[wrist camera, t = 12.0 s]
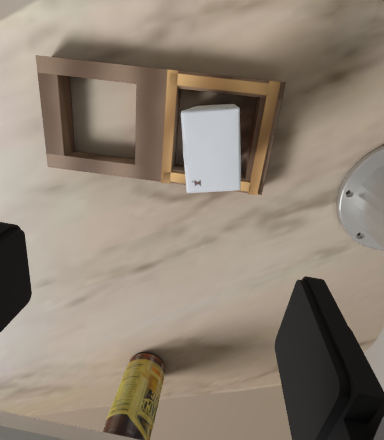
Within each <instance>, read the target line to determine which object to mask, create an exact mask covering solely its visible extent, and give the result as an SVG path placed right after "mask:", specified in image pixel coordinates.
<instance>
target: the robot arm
mask: <svg viewBox="0 0 384 440" xmlns="http://www.w3.org/2000/svg"><path fill="white" fill-rule="evenodd" d="M348 190H349V191H348ZM347 191H348V192H347ZM346 192H347V193H346ZM337 213H338V217H339V221H340V223H341V224H342V226H343V228H344V229H345V231H346V232H347V233H348V234H349V235H350V236H351V237H352V238H353V239H354V240H355V241H356V242H358V243H360V244H362V245H364V246H366V247H369V248H372V249H376V250H384V146H381V147H379V148H377V149H375V150H374V151H372V152H370V153H369V154H367V155H366V156H364V157H363V158H362V159H361V160H360V161H359V162H357V163H356V164H355V166H354V167H353V168H352V169H351V170H350V171H349V172H348V174H347V176H346V177H345V179H344V181H343V182H342V185H341V187H340V190H339V193H338V198H337ZM31 294H32V292H31V283H30V275H29V267H28V258H27V250H26V242H25V234H24V232H23V231H22V230H21V229H20V227H19V226H18V225H14V224H8V223H3V222H0V332H1V331H2V330H3V329H4V328H5V327H6V326H7V325H8V324H9V323H10V322H11V321H12V319H13V318H14V317H15V316H16V315H17V314H18V313H19V312H20V311H21V310H22V309H23V308H24V307H25V306H26V305H27V303H28V302H29V300H30V298H31ZM275 352H276V357H277V363H278V368H279V373H280V378H281V384H282V389H283V394H284V399H285V404H286V410H287V414H288V420H289V425H290V431H291V436H292V440H384V392H383V389H382V387H381V385H380V384H379V382H378V380H377V378H376V376H375V374H374V372H373V370H372V369H371V366H370V364H369V363H368V361H367V359H366V357H365V355H364V353H363V351H362V349H361V347H360V345H359V344H358V342H357V340H356V338H355V336H354V334H353V332H352V331H351V329H350V328H349V327H348V325H347V323H346V321H345V319H344V317H343V315H342V314H341V312H340V310H339V308H338V306H337V304H336V302H335V300H334V298H333V296H332V294H331V292H330V291H329V289H328V287H327V285H326V283H325V281H324V280H322V279H317V278H311V277H306V276H305V277H304V278H303V279H302V280H297V282H296V284H295V287H294V289H293V292H292V295H291V298H290V301H289V303H288V306H287V309H286V312H285V315H284V317H283V320H282V323H281V326H280V329H279V331H278V334H277V337H276V340H275ZM0 440H139V439H134V438H129V437H125V436H120V435H115V434H110V433H105V432H100V431H96V430H91V429H86V428H81V427H76V426H71V425H66V424H61V423H57V422H52V421H47V420H42V419H37V418H33V417H28V416H23V415H18V414H13V413H8V412H3V411H0Z"/></svg>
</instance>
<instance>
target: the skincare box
mask: <svg viewBox="0 0 384 440" xmlns="http://www.w3.org/2000/svg"><path fill="white" fill-rule="evenodd" d="M181 124H182V138H183V158H184V168H185V179H186V190H187V193H201V192H218V191H238V190H240V189H241V148H240V108H239V107H238V106H236V105H235V104H215V105H200V106H195V107H192V108H189V109H186V110H182V111H181Z"/></svg>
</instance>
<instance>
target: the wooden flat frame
mask: <svg viewBox="0 0 384 440" xmlns="http://www.w3.org/2000/svg"><path fill="white" fill-rule="evenodd" d="M36 62H37V71H38V80H39V90H40V99H41V108H42V117H43V126H44V135H45V144H46V154H47V163H48V167H53V168H60V169H68V170H76V171H83V172H91V173H99V174H106V175H114V176H122V177H129V178H137V179H145V180H152V181H160V182H161V183H169V184H170V183H175V184H183V185H186V179H185V168H184V165H177V164H175V159H176V146H177V133H178V120H179V107H180V95H181V89H189V90H198V91H207V92H216V93H225V94H233V95H242V96H251V97H258V100H257V105H256V111H255V116H254V122H253V127H252V133H251V138H250V144H249V149H248V155H247V160H246V166H245V171H244V173H241V189H240V190H238V191H237V192H244V193H248V194H253V195H257V194H260V195H262V191H263V186H264V181H265V177H266V172H267V167H268V163H269V158H270V153H271V149H272V144H273V139H274V135H275V130H276V125H277V121H278V116H279V111H280V107H281V102H282V97H283V93H284V88H285V83H286V82H279V81H269V80H259V79H250V78H241V77H232V76H222V75H213V74H204V73H195V72H185V71H178V70H167V69H158V68H148V67H139V66H130V65H121V64H112V63H102V62H93V61H84V60H75V59H65V58H56V57H47V56H38V55H36ZM70 76H72V77H81V78H90V79H99V80H108V81H117V82H126V83H135V84H137V89H136V142H135V159H130V158H122V157H114V156H106V155H98V154H91V153H83V152H75V147H74V132H73V118H72V103H71V89H70Z"/></svg>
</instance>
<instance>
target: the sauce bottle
mask: <svg viewBox="0 0 384 440" xmlns="http://www.w3.org/2000/svg"><path fill="white" fill-rule="evenodd" d="M164 369H165V367H164V364H163V363H162V361H161V360H160V359H159V358H158V357H157V356H155V355H151V354H148V353H140V354H137V355H135V356H133V357H132V358H131V360H130V362H129V364H128V366H127V368H126V370H125V373H124V376H123V378H122V381H121V383H120V386H119V389H118V391H117V394H116V396H115V399H114V402H113V404H112V407H111V409H110V412H109V415H108V417H107V420H106V423H105V427H104V430H103V432H105V433H110V434H115V435H120V436H125V437H129V438H134V439H139V440H150V436H151V432H152V428H153V423H154V420H155V415H156V411H157V407H158V402H159V398H160V393H161V389H162V384H163V380H164V372H165V370H164Z"/></svg>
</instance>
